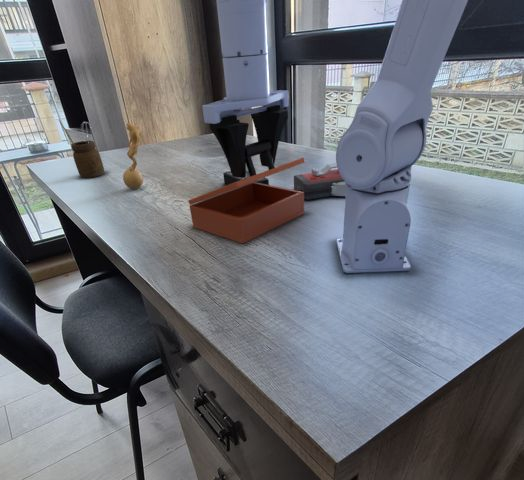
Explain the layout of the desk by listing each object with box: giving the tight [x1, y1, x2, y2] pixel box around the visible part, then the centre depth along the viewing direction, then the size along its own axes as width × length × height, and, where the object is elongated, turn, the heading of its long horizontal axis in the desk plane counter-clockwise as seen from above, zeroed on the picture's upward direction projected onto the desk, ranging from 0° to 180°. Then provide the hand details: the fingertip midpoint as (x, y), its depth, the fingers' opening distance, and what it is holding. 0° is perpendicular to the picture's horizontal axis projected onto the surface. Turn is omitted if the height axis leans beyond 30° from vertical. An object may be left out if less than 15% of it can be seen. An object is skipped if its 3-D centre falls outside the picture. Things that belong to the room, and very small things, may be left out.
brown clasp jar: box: [58, 119, 105, 179], centre depth 89 cm, size 6×6×12 cm
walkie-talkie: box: [293, 162, 346, 201], centre depth 70 cm, size 9×4×20 cm
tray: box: [189, 182, 305, 244], centre depth 62 cm, size 11×14×4 cm
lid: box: [188, 139, 306, 206], centre depth 58 cm, size 12×14×5 cm
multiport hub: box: [222, 170, 270, 188], centre depth 76 cm, size 4×11×2 cm, turn 32°
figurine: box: [122, 122, 144, 190], centre depth 78 cm, size 8×6×12 cm
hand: (253, 171), depth 57 cm, fingers open, 6 cm apart
